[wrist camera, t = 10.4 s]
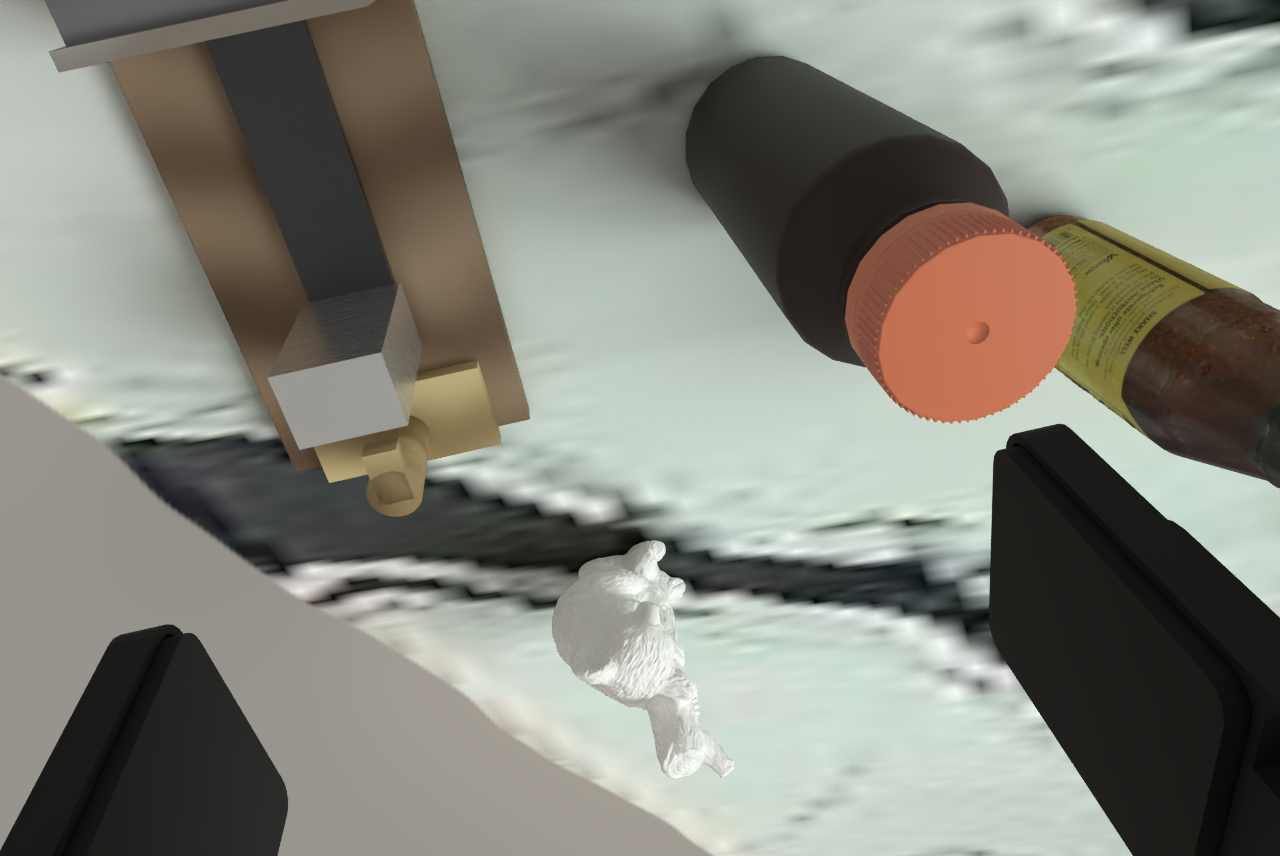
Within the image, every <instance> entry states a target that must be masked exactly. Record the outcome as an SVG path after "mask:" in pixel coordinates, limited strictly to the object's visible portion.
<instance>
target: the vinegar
mask: <svg viewBox="0 0 1280 856" xmlns="http://www.w3.org/2000/svg"><path fill="white" fill-rule="evenodd" d="M686 162H687V165H688V168H689V171H690V174H691V178H692V181H693V184H694V185H695V187H696V188H697V190H698V191H699V193H700V194H701V195H702V197H703V198H704V200H705V201H706V203H707V204H708V206H709V207H710V208H711V210H712V211H713V213H714V214H715V216H716V217H717V218H718V220H719V221H720V223H721V224H722V226H723V227H724V229H725V230H726V231H727V233H728V234H729V236H730V237H731V239H732V240H733V242H734V243H735V244H736V246H737V247H738V249H739V250H740V252H741V253H742V254H743V256H744V257H745V259H746V260H747V262H748V263H749V265H750V266H751V267H752V269H753V270H754V272H755V273H756V275H757V276H758V278H759V279H760V280H761V282H762V283H763V285H764V286H765V288H766V289H767V290H768V292H769V293H770V295H771V296H772V298H773V299H774V301H775V302H776V303H777V305H778V306H779V308H780V309H781V311H782V312H783V314H784V315H785V316H786V318H787V319H788V320H789V322H790V323H791V324H792V326H793V327H794V328H795V330H796V331H797V333H798V334H799V335H800V337H801V338H802V339H803V341H805V342H806V343H807V344H809V345H810V346H812V347H814V348H815V349H817V350H818V351H820V352H821V353H823V354H824V355H826V356H828V357H829V358H831V359H832V360H836V361H841V362H845V363H849V364H853V365H858V366H862V367H867V369H868V370H869V371H870V372H871V374H872V375H873V377H874V378H875V379H876V380H877V382H878V383H879V384H880V385H881V387H882V388H883V389H884V390H885V392H886V393H887V394H888V395H889V397H890V398H892V400H893V401H894V402H895V403H897V404H898V405H899V406H900V407H901V408H904V409H905V410H906V411H907V412H909V411H910V412H911V413H912V414H913V416H914V415H916V414H917V415H918V416H919V417H920V419H921V418H922V417H925V418H926V419H927V421H929V420H930V418H932V419H933V420H934V421H935V422H937V421H938V420H941V421H942V423H945V421H946V422H950V423H951V424H952V423H953V421H958V422H959V423H961V421H962V420H966V421H967V422H969V420H974V419H975V420H977V419H978V418H981V417H984V418H985V417H986V416H987V415H989V414H992V415H994V413H995V412H998V411H1000V412H1002V410H1003V409H1005V408H1007V407H1008V408H1009V407H1010V405H1011V404H1013V403H1014V402H1016V403H1018V401H1017V400H1019V399H1021V398H1022V397H1023V398H1025V395H1027V394H1028V393H1030V392H1032V390H1033V389H1034V388H1035V387H1036V386H1039V383H1040V382H1041V381H1042V380H1043V379H1046V378H1045V376H1046V375H1047V374H1048V373H1049V372H1052V371H1051V370H1052V369H1053V368H1054V366H1055V365H1057V361H1058V359H1059V358H1061V357H1062V356H1061V354H1062V352H1063V350H1066V348H1065V346H1066V345H1067V343H1068V342H1069V341H1070V340H1069V338H1070V334H1072V333H1073V332H1072V331H1071V330H1072V326H1074V325H1075V323H1074V322H1073V321H1074V317H1077V315H1076V314H1075V313H1076V309H1077V308H1078V307H1077V306H1075V301H1077V300H1078V299H1077V298H1076V297H1075V295H1074V294H1075V293H1076V292H1077V290H1075V289H1074V285H1075V284H1076V283H1075V282H1074V281H1072V279H1071V278H1073V277H1074V275H1072V274H1071V273H1069V272H1068V271H1070V270H1071V268H1069V267H1068V266H1066V265H1065V264H1066V263H1067V261H1065V260H1064V259H1062V255H1061V254H1059V253H1058V252H1057V249H1055V248H1054V247H1052V246H1051V244H1050V243H1048V242H1046V241H1045V240H1044V239H1042V238H1041V237H1039V236H1037V235H1036V234H1034V233H1033V232H1031V231H1029V230H1028V229H1026V228H1024V227H1023V226H1021V225H1020V224H1018V223H1016V222H1014V221H1013V220H1012V219H1010V218H1009V210H1008V203H1007V198H1006V197H1005V195H1004V193H1003V191H1002V189H1001V187H1000V185H999V183H998V182H997V180H996V178H995V176H994V174H993V172H992V170H991V168H990V167H988V166H987V165H986V164H985V163H984V162H983V161H981V160H980V159H979V158H978V157H976V156H975V155H974V154H973V153H972V152H970V151H969V150H968V149H967V148H966V147H964V146H963V145H962V144H961V143H959V142H957V141H955V140H953V139H951V138H949V137H947V136H945V135H943V134H941V133H939V132H937V131H935V130H934V129H932V128H930V127H928V126H926V125H924V124H922V123H920V122H918V121H916V120H914V119H912V118H910V117H908V116H907V115H905V114H903V113H901V112H899V111H897V110H895V109H893V108H891V107H889V106H887V105H885V104H883V103H881V102H880V101H878V100H876V99H874V98H872V97H870V96H868V95H866V94H864V93H862V92H860V91H858V90H856V89H854V88H852V87H851V86H849V85H847V84H845V83H843V82H841V81H839V80H837V79H835V78H833V77H831V76H829V75H827V74H825V73H824V72H822V71H820V70H818V69H816V68H814V67H812V66H810V65H808V64H806V63H803V62H800V61H796V60H793V59H790V58H787V57H784V56H773V57H756V58H753V59H751V60H748V61H746V62H743V63H741V64H738V65H735V66H733V67H731V68H730V69H728V70H727V71H726V72H725V73H724V74H722V75H721V76H720V77H719V78H717V79H716V80H715V81H714V82H712V83H711V84H710V85H709V87H708V88H707V90H706V91H705V93H704V94H703V96H702V97H701V98H700V100H699V101H698V103H697V104H696V106H695V107H694V110H693V113H692V117H691V120H690V123H689V126H688V129H687V133H686Z"/></svg>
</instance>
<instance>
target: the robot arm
mask: <svg viewBox="0 0 1280 856" xmlns="http://www.w3.org/2000/svg"><path fill="white" fill-rule="evenodd" d="M989 625H990V630H991V634H992V637H993V640H994V642H995V645H996V647H997V648H998V650H999V652H1000V654H1001V655H1002V657H1003V658H1004V660H1005V661H1006V663H1007V664H1008V666H1009V667H1010V669H1011V670H1012V672H1013V673H1014V675H1015V676H1016V678H1017V680H1018V681H1019V683H1020V684H1021V686H1022V687H1023V689H1024V690H1025V692H1026V693H1027V695H1028V696H1029V698H1030V699H1031V701H1032V702H1033V704H1034V705H1035V707H1036V709H1037V710H1038V712H1039V713H1040V715H1041V716H1042V718H1043V719H1044V721H1045V722H1046V724H1047V725H1048V727H1049V728H1050V730H1051V731H1052V733H1053V734H1054V736H1055V737H1056V739H1057V741H1058V742H1059V744H1060V745H1061V747H1062V748H1063V750H1064V751H1065V753H1066V754H1067V756H1068V757H1069V759H1070V760H1071V762H1072V763H1073V765H1074V766H1075V768H1076V769H1077V771H1078V773H1079V774H1080V776H1081V777H1082V779H1083V780H1084V782H1085V783H1086V785H1087V786H1088V788H1089V789H1090V791H1091V792H1092V794H1093V795H1094V797H1095V798H1096V800H1097V802H1098V803H1099V805H1100V806H1101V808H1102V809H1103V811H1104V812H1105V814H1106V815H1107V817H1108V818H1109V820H1110V821H1111V823H1112V824H1113V826H1114V827H1115V829H1116V830H1117V832H1118V834H1119V835H1120V837H1121V838H1122V840H1123V841H1124V843H1125V844H1126V846H1127V847H1128V849H1129V850H1130V852H1131V853H1132V855H1133V856H1280V617H1278V616H1277V615H1276V614H1275V613H1274V612H1273V611H1272V610H1271V609H1270V608H1269V607H1268V606H1267V605H1266V604H1265V603H1263V602H1262V601H1261V600H1260V599H1259V598H1258V597H1257V596H1256V595H1255V594H1254V593H1253V592H1252V591H1251V590H1249V589H1248V588H1247V587H1246V586H1245V585H1244V584H1243V583H1242V582H1241V581H1240V580H1239V579H1238V578H1237V577H1235V576H1234V575H1233V574H1232V573H1231V572H1230V571H1229V570H1228V569H1227V568H1226V567H1225V566H1224V565H1223V564H1221V563H1220V562H1219V561H1218V560H1217V559H1216V558H1215V557H1214V556H1213V555H1212V554H1211V553H1210V552H1209V551H1207V550H1206V549H1205V548H1204V547H1203V546H1202V545H1201V544H1200V543H1199V542H1198V541H1197V540H1196V539H1195V538H1194V537H1192V536H1191V535H1190V534H1189V533H1188V532H1187V531H1186V530H1185V529H1183V528H1182V527H1181V526H1179V525H1178V524H1176V523H1175V522H1174V521H1170V520H1167V519H1166V518H1165V517H1164V516H1163V515H1162V514H1161V513H1160V512H1159V511H1158V510H1156V509H1155V508H1154V507H1153V506H1152V505H1151V504H1150V503H1149V502H1148V501H1147V500H1146V499H1145V498H1144V497H1143V496H1142V495H1141V494H1139V493H1138V492H1137V491H1136V490H1135V489H1134V488H1133V487H1132V486H1131V485H1130V484H1129V483H1128V482H1127V481H1126V480H1125V479H1124V478H1122V477H1121V476H1120V475H1119V474H1118V473H1117V472H1116V471H1115V470H1114V469H1113V468H1112V467H1111V466H1110V465H1109V464H1108V463H1106V462H1105V461H1104V460H1103V459H1102V458H1101V457H1100V456H1099V455H1098V454H1097V453H1096V452H1095V451H1094V450H1093V449H1092V448H1091V447H1089V446H1088V445H1087V444H1086V443H1085V442H1084V441H1083V440H1082V439H1081V438H1080V437H1079V436H1078V435H1077V434H1076V433H1075V432H1073V431H1072V430H1071V429H1070V428H1069V427H1067V426H1066V425H1064V424H1056V425H1051V426H1047V427H1042V428H1038V429H1034V430H1029V431H1025V432H1020V433H1016V434H1013V435H1011V436H1010V437H1009V439H1008V441H1007V445H1006V449H1002V450H999V451H997V452H996V454H995V456H994V462H993V496H992V530H991V565H990V599H989ZM287 811H288V797H287V791H286V787H285V784H284V782H283V779H282V778H281V776H280V774H279V773H278V771H277V769H276V768H275V766H274V764H273V763H272V761H271V759H270V758H269V756H268V754H267V753H266V751H265V749H264V748H263V746H262V744H261V743H260V741H259V739H258V737H257V736H256V734H255V732H254V731H253V729H252V727H251V726H250V724H249V722H248V721H247V719H246V717H245V716H244V714H243V712H242V711H241V709H240V707H239V706H238V704H237V702H236V700H235V699H234V697H233V695H232V694H231V692H230V690H229V689H228V687H227V685H226V684H225V682H224V680H223V679H222V677H221V675H220V674H219V672H218V670H217V669H216V667H215V665H214V663H213V662H212V660H211V658H210V657H209V655H208V654H207V652H206V650H205V648H204V647H203V645H202V643H201V642H200V640H199V639H198V638H197V636H195V635H194V634H192V633H185V634H183V633H182V632H181V631H180V629H179V628H177V627H176V626H174V625H162V626H158V627H154V628H149V629H144V630H140V631H136V632H132V633H127V634H122V635H119V636H117V637H116V638H114V639H113V640H112V641H111V643H110V644H109V646H108V647H107V649H106V651H105V653H104V655H103V657H102V659H101V661H100V662H99V664H98V666H97V668H96V670H95V672H94V674H93V676H92V678H91V680H90V682H89V683H88V685H87V687H86V689H85V691H84V693H83V695H82V697H81V698H80V700H79V702H78V704H77V706H76V708H75V710H74V712H73V714H72V716H71V717H70V719H69V721H68V724H67V725H66V727H65V729H64V731H63V733H62V735H61V736H60V738H59V740H58V742H57V744H56V746H55V748H54V750H53V752H52V754H51V756H50V757H49V759H48V761H47V763H46V765H45V767H44V769H43V771H42V773H41V774H40V776H39V778H38V780H37V782H36V784H35V786H34V788H33V789H32V791H31V793H30V795H29V797H28V799H27V801H26V803H25V805H24V807H23V808H22V810H21V812H20V814H19V816H18V818H17V820H16V822H15V824H14V826H13V827H12V830H11V831H10V833H9V835H8V837H7V839H6V841H5V843H4V844H3V846H2V849H1V850H0V856H277V855H278V851H279V847H280V842H281V838H282V834H283V829H284V825H285V821H286V817H287Z"/></svg>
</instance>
